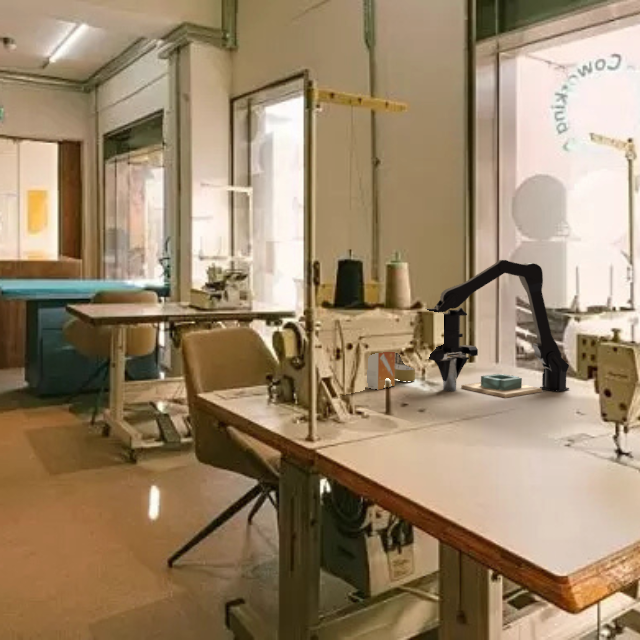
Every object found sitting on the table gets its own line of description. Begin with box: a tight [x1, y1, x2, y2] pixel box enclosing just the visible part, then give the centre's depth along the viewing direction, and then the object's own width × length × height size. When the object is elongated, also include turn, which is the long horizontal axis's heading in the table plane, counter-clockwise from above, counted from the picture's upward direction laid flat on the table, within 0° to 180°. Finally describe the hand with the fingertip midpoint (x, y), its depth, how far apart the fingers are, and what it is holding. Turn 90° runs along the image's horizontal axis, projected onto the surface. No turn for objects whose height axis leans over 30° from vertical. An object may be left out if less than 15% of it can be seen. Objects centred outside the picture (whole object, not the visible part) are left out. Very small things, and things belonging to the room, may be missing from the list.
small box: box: [367, 352, 396, 391], centre depth 235 cm, size 8×6×13 cm
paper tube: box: [395, 353, 416, 383], centre depth 245 cm, size 7×7×25 cm
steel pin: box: [442, 356, 457, 392], centre depth 230 cm, size 4×4×10 cm
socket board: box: [461, 373, 543, 399], centre depth 230 cm, size 18×16×4 cm
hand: (449, 380), depth 230 cm, fingers closed on steel pin, 4 cm apart
